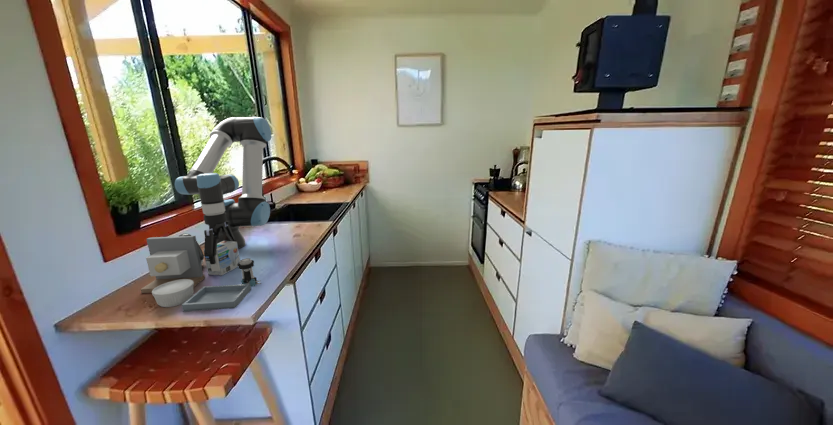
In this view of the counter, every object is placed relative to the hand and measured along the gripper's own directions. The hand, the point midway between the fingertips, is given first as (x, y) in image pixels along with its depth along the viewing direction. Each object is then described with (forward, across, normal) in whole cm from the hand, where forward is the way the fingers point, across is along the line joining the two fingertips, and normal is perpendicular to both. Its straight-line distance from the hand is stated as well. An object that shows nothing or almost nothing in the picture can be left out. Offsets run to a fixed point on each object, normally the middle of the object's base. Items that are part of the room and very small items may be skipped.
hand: (224, 264), depth 127 cm
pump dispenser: (+3, -3, -15) cm, 16 cm away
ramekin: (+3, +24, -4) cm, 24 cm away
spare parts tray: (+2, +26, +10) cm, 28 cm away
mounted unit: (+2, +12, -12) cm, 17 cm away
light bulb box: (+3, 0, 0) cm, 3 cm away
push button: (+3, +16, +17) cm, 23 cm away
